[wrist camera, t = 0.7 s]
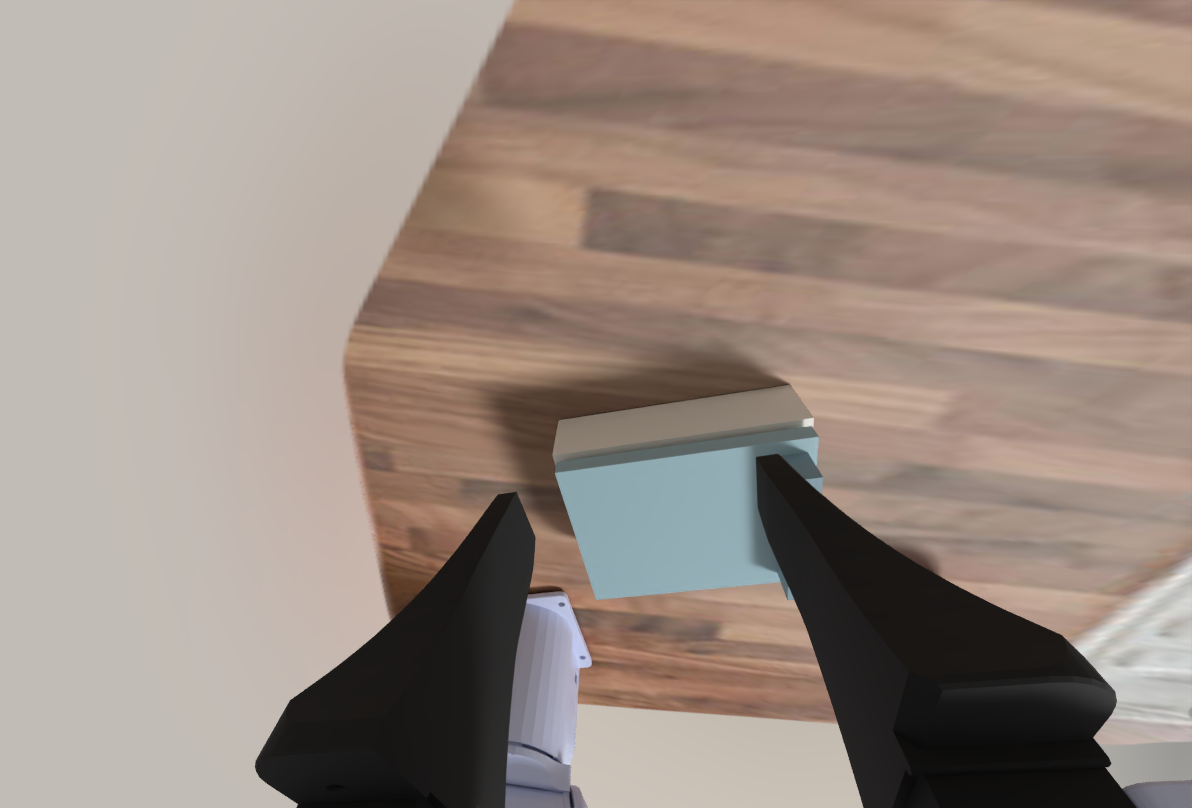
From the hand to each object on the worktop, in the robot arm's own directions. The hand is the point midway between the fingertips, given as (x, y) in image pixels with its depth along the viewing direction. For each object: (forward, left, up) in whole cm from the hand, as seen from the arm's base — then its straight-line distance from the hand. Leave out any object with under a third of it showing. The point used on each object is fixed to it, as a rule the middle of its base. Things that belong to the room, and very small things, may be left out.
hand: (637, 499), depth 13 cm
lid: (-8, -2, -6) cm, 10 cm away
